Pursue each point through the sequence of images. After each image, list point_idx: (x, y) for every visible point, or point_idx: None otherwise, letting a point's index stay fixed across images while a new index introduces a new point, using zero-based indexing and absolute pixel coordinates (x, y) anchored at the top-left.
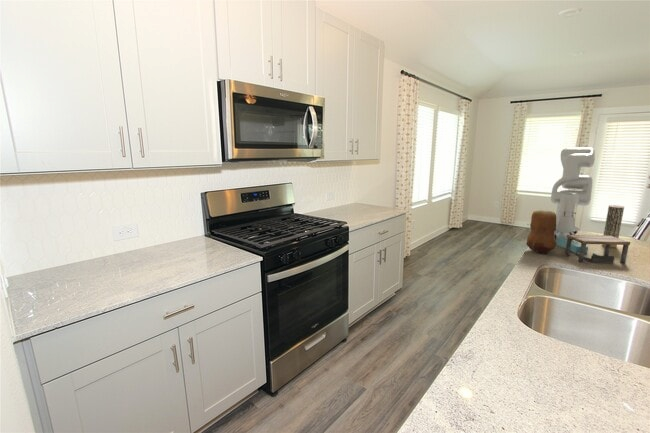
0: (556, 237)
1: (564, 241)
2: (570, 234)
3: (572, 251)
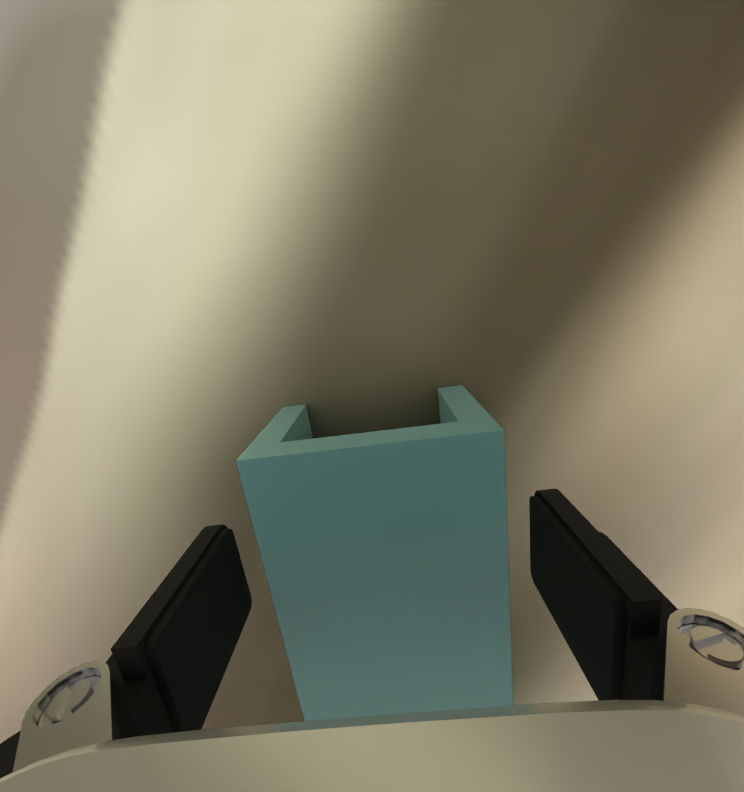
0: (281, 550)
1: None
2: (641, 684)
3: None
